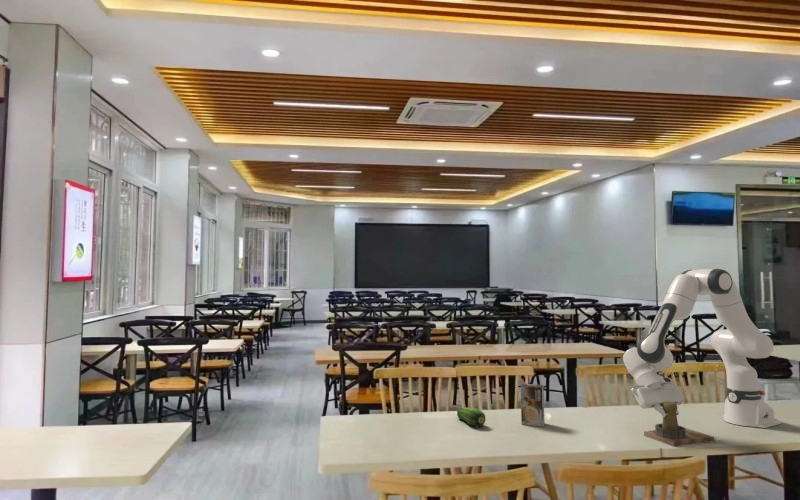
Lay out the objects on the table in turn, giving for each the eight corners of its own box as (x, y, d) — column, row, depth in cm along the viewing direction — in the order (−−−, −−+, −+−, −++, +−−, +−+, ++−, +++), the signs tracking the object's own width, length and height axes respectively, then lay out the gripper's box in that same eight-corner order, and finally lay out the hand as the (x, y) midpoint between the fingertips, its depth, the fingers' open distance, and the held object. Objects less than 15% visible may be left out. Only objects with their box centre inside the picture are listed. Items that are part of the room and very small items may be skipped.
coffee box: (545, 423, 220) (544, 384, 221) (543, 427, 215) (542, 387, 215) (523, 420, 224) (522, 383, 225) (520, 424, 218) (520, 385, 219)
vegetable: (476, 408, 212) (456, 398, 230) (469, 425, 210) (449, 413, 229) (491, 415, 213) (469, 404, 232) (484, 432, 212) (462, 420, 231)
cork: (681, 434, 195) (680, 404, 196) (664, 433, 197) (663, 403, 197) (676, 429, 201) (675, 400, 202) (659, 428, 202) (658, 400, 203)
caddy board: (683, 430, 210) (682, 419, 210) (714, 440, 197) (713, 428, 197) (644, 435, 203) (643, 423, 204) (673, 446, 190) (673, 433, 190)
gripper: (634, 381, 203) (654, 413, 193) (674, 378, 210) (696, 408, 200) (626, 390, 207) (645, 422, 197) (665, 387, 214) (686, 417, 204)
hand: (671, 415), depth 199 cm, fingers closed on cork, 4 cm apart
